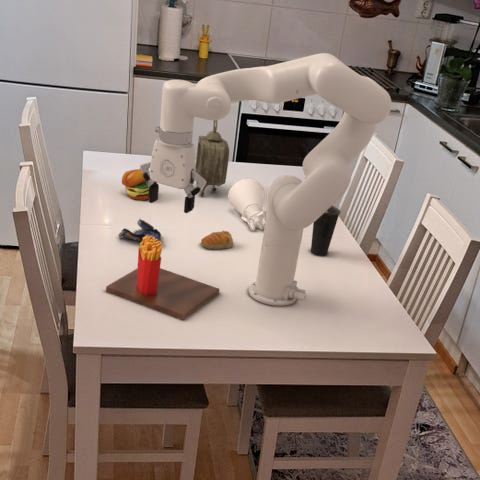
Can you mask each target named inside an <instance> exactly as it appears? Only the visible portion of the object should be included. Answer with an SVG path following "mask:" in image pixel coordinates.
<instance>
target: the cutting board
mask: <svg viewBox="0 0 480 480" xmlns="http://www.w3.org/2000/svg"><path fill="white" fill-rule="evenodd" d="M137 269H138V267H136V269H134V270H132V271H130V272H128V273H127V274H125V275H124V276H122V277H120V278H118V279H117V280H115V281H113V282H111V283H109V284H108V285H106V286H105V292H106V293H108V294H110V295H114V296H117V297H119V298H122V299H124V300H127V301H130V302H133V303H136V304H137V305H141V306H142V307H143V306H144V307H146V308H149V309H152V310H154V311H157V312H160V313H162V314H165V315H168V316H170V317H172V318H176V319H178V320H181V321H185V320H186V319H187V318H189V316H191V315H192V314H195V312H196V311H198V310H199V309H201V308H202V307H203V306H204V305H206V304H207V303H209V302H210V301H212V300H213V299H214V298H215V297H217V296H218V295H220V288H219V287H216V286H213V285H210V284H207V283H204V282H201V281H198V280H196V279H192V278H189V277H187V276H184V275H181V274H178V273H175V272H173V271H170V270H167V269H165V268H161V267H160V272H159V280H158V288H157V292H156V294H154V295H145V294H143V293H141V292H140V290H139V289H138V287H137Z"/></svg>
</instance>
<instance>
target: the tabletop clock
mask: <svg viewBox="0 0 480 480" xmlns="http://www.w3.org/2000/svg"><path fill="white" fill-rule="evenodd" d="M217 130H218V120H213V127H212V131H209V132H208V133H207V134H206V135H198V141H197V148H196V156H195V163H196V168H195V171H196V172H197V173H198V174H199V175H200V176H201V177H202V178H204V179H205V180H206V182H207V183H206V185H205V186H204V188H203V190H202V191H201V192H199V193H198V195H199V196H200V197H204V195H205V190H206V188H208V186H212V188H211V192H212V193H216V192H218V191H217V190H218V189H217V187H220V186H222V185H225V184H226V180H227V174H228V167H229V158H230V147H229V144H228V141H227V140H225V139H223V138H222V135H221V134H220V133H219V132H218V131H217ZM196 184H197V185H198V183H197V182H196Z"/></svg>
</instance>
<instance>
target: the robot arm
mask: <svg viewBox="0 0 480 480" xmlns="http://www.w3.org/2000/svg"><path fill="white" fill-rule="evenodd" d="M161 89H162V90H161V91H162V92H161V106H160V121H159V126H156V127H155V129H154V131H155V133H157V134H158V137H157V138H156V139H155V141H154V144H153V147H152V148H153V149H152V153H151V158H150V161H149V162H148V161H147V162H144V163H142V164H141V165H140V166H139V167H140V169H141V170H142V173H143V177H144V179H145V180H146V182H147V185H148V186H149V193H148V197H149V199H148V203H149V204H152V203H155V202H156V201H158V200H159V190H160V185H163V186H164V185H165V186H167V187H171V188H174V189H178V190H183V191H184V192H185V194H186V196H185V197H184V204H183V212H184V214H189V213H190V212H192V211H193V210H194V208H195V201H196V196H197V195H199V193H200V192H201V191H202V190H203V188H204V186H205V185H206V183H207V182H206V180H205V179H204V178H202V177H201V176H200V175H199V174H198V173H197V172H196V171H195V168H196V149H195V144H194V143H193V135H194V122H195V118H199V119H203V120H207V121H214V120H217V121H219V120H222V119H224V118H226V117H227V116H228V115H229V114H230V111H231V108H232V104H233V103H238V102H244V101H257V102H263V103H266V104H275V105H276V104H282V103H286V102H290V101H293V100H298V99H301V98H305V97H310V96H313V95H318V96H319V97H320V98H322V99H323V100H325V101H326V102H328V103H330V104H331V105H333V106H334V107H336V108H337V109H339V110H341V111H342V112H343V114H342V117H341V119H340V121H339V122H338V124H337V125H336V126H335V127H334V128H333V129H332V130H331V132H330V133H328V134H327V135H326V136H325V137H324V138H323V139H321V141H320V142H319V143H318V144H316V146H315V147H313V149H311V151H309V152H308V153H307V155H305V157H304V159H303V161H302V171H303V174H304V176H305V177H304V179H302V180H301V179H300V178H299V177H297V176H295V175H289V174H285V175H282V176H278V177H277V178H276V179H275V180H274V181H273V182H272V183H271V185H270V186H269V189H268V192H267V197H266V209H265V210H266V211H265V212H266V213H265V218H266V222H265V225H264V228H263V229H264V230H263V236H262V242H261V248H260V255H259V260H258V267H257V274H256V281H254V282H252V283H251V284H250V285H249V286H248V294H249V296H250V297H251V298H252V299H253V300H255V301H256V302H259V303H261V304H264V305H269V306H275V307H277V306H278V307H282V306H283V307H284V306H289V305H292V304H294V303H296V301H297V300H298V301H301V302H306V300H307V297H308V295H307V294H306V293H307V290H305V289H303V288H299V287H298V281H297V280H295V277H296V271H297V266H298V259H299V255H300V248H301V244H302V240H303V233H304V229H306V228H308V227H310V226H311V225H313V223H314V222H315V221H316V220H317V219H318V218H319V217H320V216H321V215H322V214H323V213H325V212H326V211H327V210H328V209H329V208H330V207H331V206H334V204H335V203H337V201H339V200H340V199H341V197H342V196H344V194H345V193H346V192H347V190H348V188H349V187H350V184H351V181H352V172H351V169H350V165H351V163H352V162H353V161H354V160H355V159H356V158H357V157H358V156H359V155H360V154H361V153H362V152H363V151H364V150H365V149H366V147H367V146H368V144H369V143H370V142H371V140H372V139H373V137H374V133H375V130H376V128H377V124H380V123H382V122H383V121H385V120H386V119H387V118H388V117H389V115H390V113H391V110H392V105H393V104H392V98H391V96H390V94H389V92H388V91H387V90H386V89H385V88H384V87H382V85H380V84H379V83H378V82H377V81H376V80H374V79H372V78H371V77H369V76H366V75H361V74H359V72H356V71H355V70H354V69H352V68H351V67H349V66H348V65H346V63H344V62H342V61H341V60H340V59H339V58H338V57H336V56H334V55H333V54H331V53H328V52H320V53H315V54H311V55H306V56H303V57H299V58H295V59H293V60H292V59H291V60H287V61H283V62H280V63H279V62H278V63H276V64H271V65H266V66H265V65H264V66H255V67H246V68H244V67H243V68H237V69H232V70H228V71H227V70H226V71H223V72H219V73H215V74H212V75H208V76H206V77H204V78H201V79H200V80H199V81H198V82H197V83H196V84H193V82H190V81H188V80H183V79H169V80H166V81H165V82H164V83H163V85H162V88H161ZM195 182H196V184H197V183H198V184H197V186H196V187H195V184H194V183H195ZM159 184H160V185H159Z"/></svg>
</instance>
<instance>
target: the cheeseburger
mask: <svg viewBox="0 0 480 480" xmlns="http://www.w3.org/2000/svg"><path fill="white" fill-rule="evenodd" d="M121 184H122V185H123V186H125V189H126V193H127V196H128V197H129V198H131V199H134V200H139V201H143V200H149V197H148V193H149V186H148V185H147V182H146V180H145V179H144V177H143V173H142V170H141V168H138V169H130V170H127V171H125V172H124V173H123V174H122V177H121Z"/></svg>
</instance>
